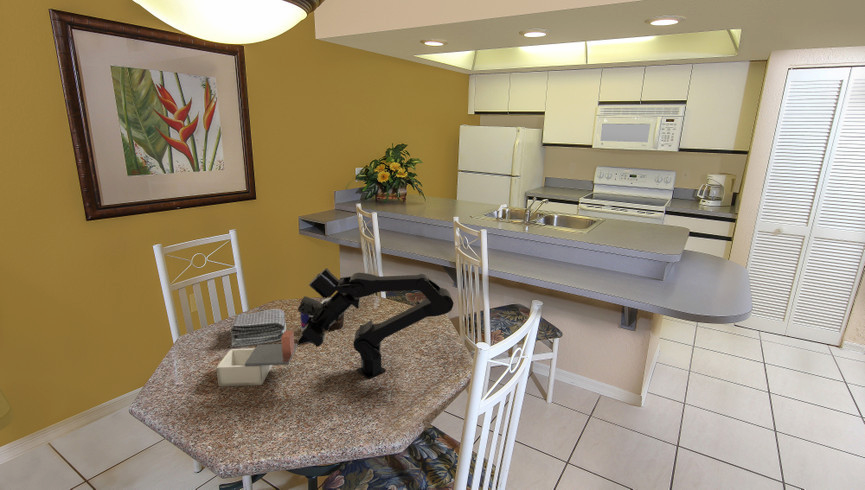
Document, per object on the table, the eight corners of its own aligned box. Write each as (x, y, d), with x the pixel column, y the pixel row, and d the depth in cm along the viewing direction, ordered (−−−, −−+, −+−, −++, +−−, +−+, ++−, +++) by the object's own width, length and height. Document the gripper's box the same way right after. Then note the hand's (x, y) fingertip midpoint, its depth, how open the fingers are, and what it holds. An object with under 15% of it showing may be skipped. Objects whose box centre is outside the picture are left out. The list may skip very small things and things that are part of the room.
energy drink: (302, 343, 148) (299, 311, 145) (302, 337, 153) (300, 305, 150) (318, 342, 149) (316, 310, 146) (317, 335, 154) (315, 304, 151)
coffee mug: (349, 322, 166) (348, 298, 163) (342, 332, 157) (341, 306, 155) (319, 320, 167) (318, 296, 164) (311, 330, 158) (310, 305, 156)
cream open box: (272, 365, 134) (270, 347, 132) (261, 384, 123) (259, 366, 122) (232, 366, 133) (230, 349, 131) (218, 386, 122) (216, 367, 121)
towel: (286, 341, 150) (285, 320, 148) (229, 349, 144) (227, 327, 142) (285, 324, 164) (284, 305, 162) (233, 330, 158) (231, 310, 156)
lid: (297, 345, 133) (295, 325, 131) (288, 364, 122) (286, 342, 120) (257, 347, 132) (255, 326, 130) (245, 366, 121) (242, 344, 119)
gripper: (320, 278, 132) (286, 312, 134) (307, 301, 114) (268, 340, 116) (346, 302, 135) (312, 335, 136) (338, 327, 117) (300, 365, 118)
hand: (299, 342), depth 127 cm, fingers closed
